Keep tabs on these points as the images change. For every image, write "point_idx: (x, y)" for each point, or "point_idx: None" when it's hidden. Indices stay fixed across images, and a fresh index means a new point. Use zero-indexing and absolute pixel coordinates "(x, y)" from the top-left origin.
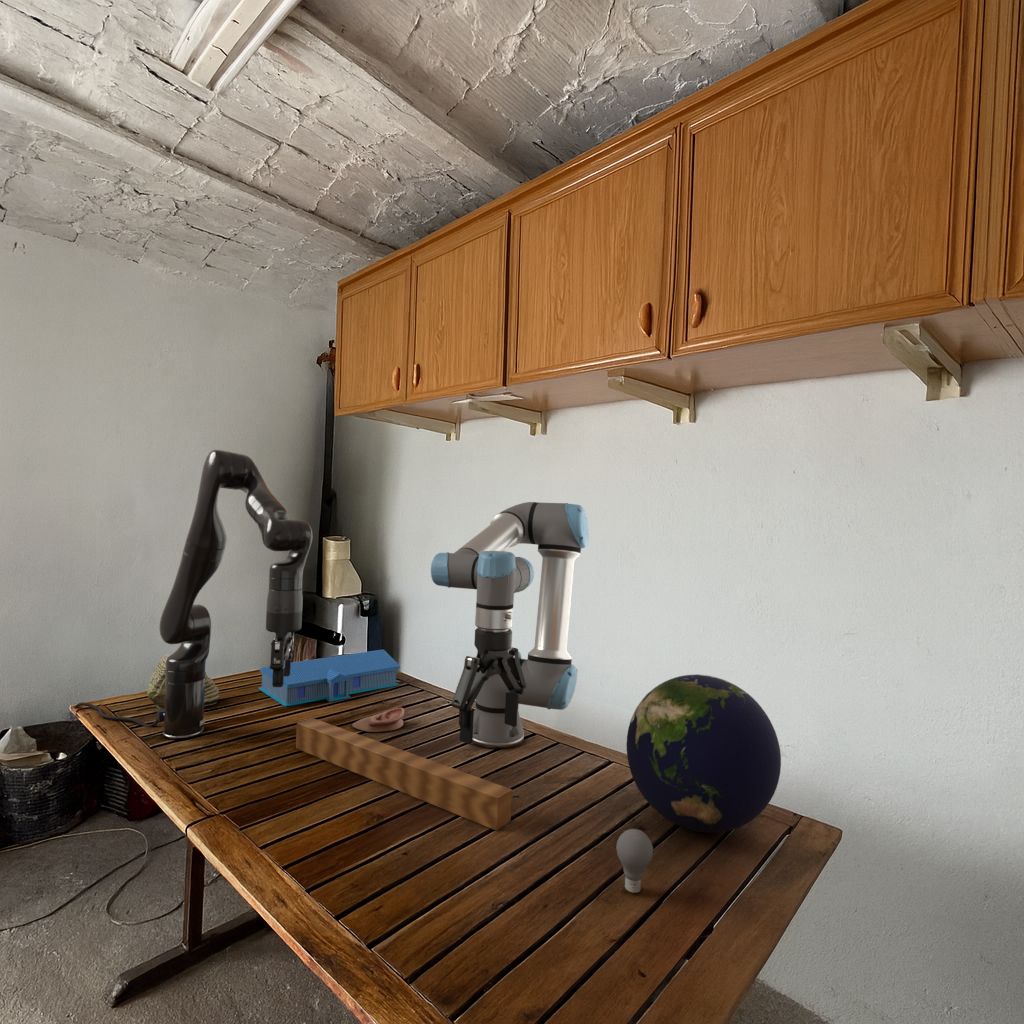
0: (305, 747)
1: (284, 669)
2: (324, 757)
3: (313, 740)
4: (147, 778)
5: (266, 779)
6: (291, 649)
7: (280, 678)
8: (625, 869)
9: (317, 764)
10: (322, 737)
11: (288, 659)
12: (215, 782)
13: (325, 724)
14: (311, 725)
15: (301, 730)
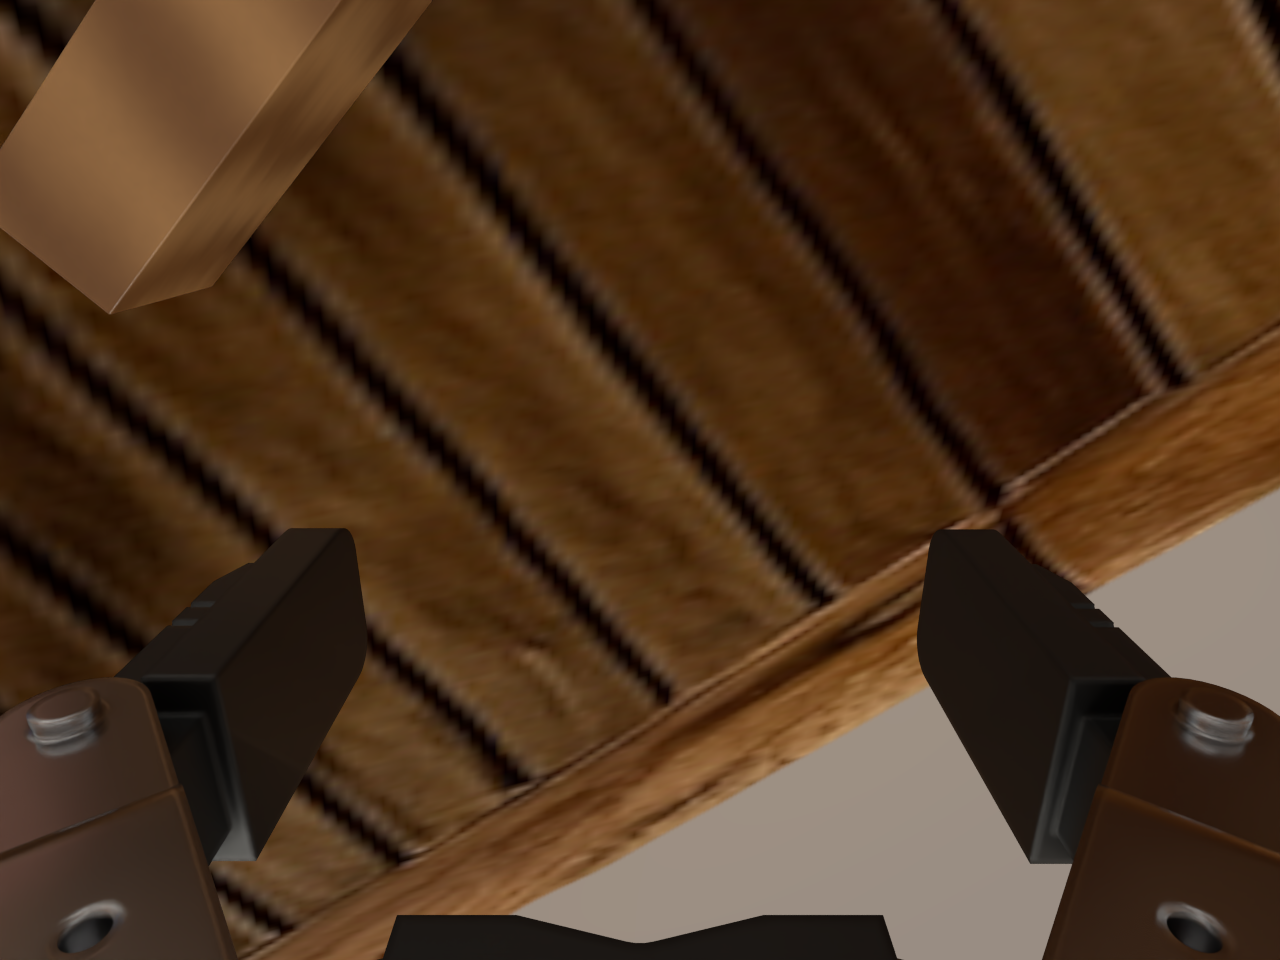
0: (253, 216)
1: (321, 659)
2: (381, 58)
3: (270, 152)
4: (606, 852)
5: (655, 375)
6: (220, 920)
7: (1109, 628)
8: None
9: (454, 102)
10: (313, 65)
11: (195, 728)
12: (669, 602)
13: (103, 59)
14: (149, 184)
15: (169, 264)
